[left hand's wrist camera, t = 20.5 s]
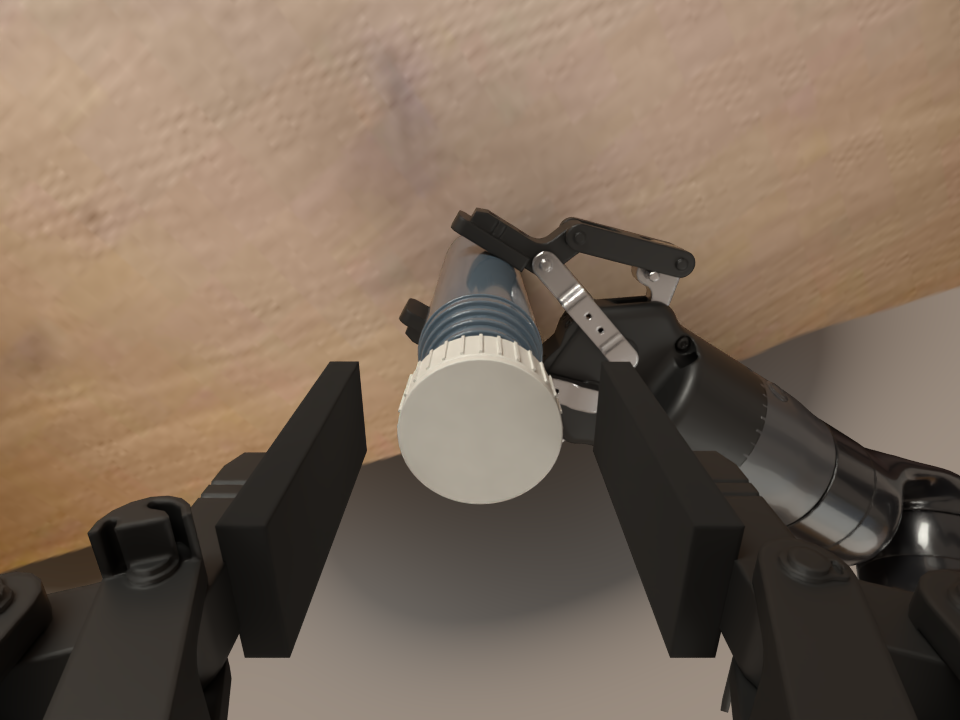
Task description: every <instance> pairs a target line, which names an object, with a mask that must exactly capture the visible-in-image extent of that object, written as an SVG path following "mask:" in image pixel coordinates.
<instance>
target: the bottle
mask: <svg viewBox="0 0 960 720" xmlns="http://www.w3.org/2000/svg"><path fill="white" fill-rule="evenodd" d="M479 334H483V336H492V337H497V336H500V337H501V338H502V339H505V340H508V341H511V342H513V343H514V341H515V342H517V344H518V345H519V346H521V347H522V348H524V349H526V350H527V351H529V350H530V351H532V355H533V356H534V357H535V358H536V359H537V360H538V361H539V362H542V361H543V358H542V357H543V346H542V341H541V337H540V333H539V330H538V327H537V324H536V321H535V318H534V315H533V311H532V308H531V305H530V302H529V299H528V296H527V293H526V289H525V286H524V283H523V280H522V277H521V274H520V271H519V270H517V269H515V268H514V267H512V266H510V265H509V264H508V263H506V262H505V261H503V260H501V259H499V258H497V257H496V256H494V255H493V254H491V253H489V252H488V251H486V250H484V249H483V248H481V247H479V246H478V245H476V244H475V243H473V242H471V241H470V240H468V239H466V238H465V237H463V236H462V235H461V236H460V237H458V238H457V239H456V240H455V241H454V242H453V243H452V244H451V246H450V247H449V249H448V251H447V254H446V257H445V260H444V263H443V266H442V269H441V272H440V276H439V279H438V282H437V285H436V288H435V291H434V294H433V298H432V301H431V304H430V307H429V310H428V313H427V316H426V319H425V323H424V326H423V329H422V332H421V335H420V339H419V344H418V362H419V361H421V362H422V360H423V359H424V358H425V357H426V356H427V355H429V353H430V350H432V349H433V350H435V349H436V348H438V347H440V346H441V345H443V344H444V343H445V341H448V342H449V341H452V340H455V339H458V338H461V336H463V335H465V337H468V336H479Z"/></svg>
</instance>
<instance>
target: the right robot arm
mask: <svg viewBox="0 0 960 720" xmlns="http://www.w3.org/2000/svg"><path fill="white" fill-rule="evenodd" d="M451 228H452V229H453V230H454V231H455V232H457V233H458V234H460V235H462V236H463V237H465V238H466V239H468V240H470V241H471V242H473V243H475V244H476V245H478V246H479V247H481V248H483V249H484V250H486V251H488V252H489V253H491V254H493V255H494V256H496V257H497V258H499V259H501V260H503V261H505V262H506V263H508V264H509V265H510V266H512V267H514V268H515V269H517V270H519V271H520V272H522V271H523V269H524V268H525V269H527V270H529V271H530V272H532V273H534V274H535V275H536V276H537V277H538V278H539V279H540V280H541V281H542V283H543V284H544V285H545V286H546V287H547V288H548V289H549V291H550V292H551V293H552V294H553V295H554V296H555V297H556V299H557V300H558V301H559V302H560V304H561V305H562V306H563V308H564V309H565V310H566V311H565V312H564V313H563V315H562V316H561V318H560V320H559V323H558V325H557V328H556V331H555V333H554V334H553V335H552V336H551V337H550V338H549V339H547V340H546V341H545V342H544V343H543V344H542V346H543V357H542V358H543V361H542V362H543V364H544V368H545V370H546V372H547V374H548V376H550V375H551V377H552V380H553V384H554V387H555V390H556V393H557V396H558V399H559V403H560V406H561V409H562V414H561V418H562V423H563V438H562V443H563V442H564V441H568V442H570V443H582V444H589V445H593V446H594V436H595V425H596V414H597V403H598V392H599V381H600V370H601V362H631V364H632V365H633V367H634V368H635V369H636V371H637V372H638V374H639V375H640V377H641V378H642V379H643V381H644V382H645V384H646V385H647V387H648V388H649V389H650V391H651V392H652V394H653V395H654V397H655V398H656V399H657V401H658V402H659V404H660V405H661V407H662V408H663V409H664V411H665V412H666V414H667V415H668V417H669V418H670V419H671V421H672V422H673V424H674V425H675V427H676V428H677V429H678V431H679V432H680V434H681V435H682V437H683V438H684V439H685V441H686V442H687V444H688V445H689V447H690V448H691V449H692V451H717V452H718V453H720V454H721V455H723V456H724V457H726V458H727V459H729V460H731V461H732V462H734V463H735V464H736V465H737V466H738V467H739V468H740V469H741V471H742V472H743V473H744V474H745V476H746V477H747V478H748V479H749V483H752V484H753V486H754V487H755V488H756V489H757V491H758V492H759V495H760V496H762V497H763V498H764V499H765V500H766V502H767V503H768V504H769V505H770V507H771V508H772V509H773V510H774V512H775V513H776V514H777V515H778V516H779V518H780V519H781V520H782V521H783V523H784V524H785V525H786V526H787V528H788V529H789V530H790V531H791V533H792V534H793V535H794V536H795V538H796V539H800V540H803V541H806V542H810V543H813V544H816V545H818V546H820V547H822V548H824V549H826V550H828V551H830V552H832V553H834V554H835V555H836V556H838V557H839V558H840V559H841V560H843V561H844V562H845V563H846V564H848V565H849V566H853V565H856V569H857V578H858V579H859V580H863V581H866V582H870V583H875V584H879V585H884V586H888V587H893V588H897V589H902V590H906V591H911V592H914V591H915V589H916V586H917V584H918V581H919V579H920V577H921V576H922V575H924V574H925V573H926V572H928V571H932V570H943V569H945V570H951V571H957V572H960V476H959V475H958V474H955V473H953V472H951V471H949V470H946V469H943V468H939V467H935V466H931V465H927V464H923V463H919V462H915V461H911V460H908V459H904V458H901V457H897V456H894V455H890V454H886V453H882V452H879V451H875V450H871V449H868V448H864V447H863V446H861V445H860V444H859V443H857V442H855V441H854V440H852V439H851V438H849V437H848V436H846V435H844V434H843V433H841V432H840V431H838V430H837V429H835V428H833V427H832V426H830V425H829V424H827V423H825V422H824V421H822V420H821V419H819V418H817V417H816V416H815V415H813V414H812V413H811V412H810V411H809V410H808V409H806V408H805V407H804V406H803V405H802V404H801V403H800V402H799V401H797V400H796V399H795V398H794V397H792V396H791V395H789V394H788V393H787V392H785V391H784V390H782V389H781V388H780V387H779V386H777V385H776V384H774V383H772V382H769V381H768V380H766V379H765V378H763V377H761V376H760V375H758V374H757V373H755V372H753V371H752V370H750V369H749V368H747V367H746V366H744V365H743V364H741V363H740V362H738V361H736V360H735V359H733V358H732V357H730V356H728V355H727V354H725V353H724V352H722V351H720V350H719V349H717V348H716V347H714V346H713V345H711V344H709V343H708V342H706V341H705V340H703V339H702V338H700V337H698V336H697V335H695V334H694V333H692V332H691V331H689V330H687V329H686V328H684V327H683V326H681V325H680V324H679V322H678V320H677V318H676V316H675V314H674V312H673V310H672V309H671V308H670V307H669V304H670V302H671V299H672V297H673V294H674V292H675V289H676V287H677V284H678V282H679V279H680V278H683V277H686V276H688V275H689V274H690V273H691V272H692V271H693V269H694V267H695V259H694V256H693V255H692V254H691V253H689V252H687V251H685V250H684V249H682V248H680V247H678V246H676V245H674V244H672V243H669V242H666V241H662V240H658V239H654V238H650V237H647V236H643V235H639V234H635V233H632V232H628V231H624V230H620V229H617V228H613V227H609V226H605V225H601V224H598V223H594V222H590V221H586V220H583V219H579V218H575V217H569V218H566V219H564V220H563V221H562V222H561V224H560V226H559V228H557V229H556V230H555V231H554V232H552V233H551V234H550V235H548V236H547V237H545V238H540V239H536V238H532V237H530V236H529V235H527V234H526V233H524V232H522V231H521V230H519V229H518V228H516V227H514V226H513V225H511V224H510V223H508V222H506V221H505V220H503V219H502V218H500V217H498V216H497V215H495V214H494V213H492V212H491V211H489V210H487V209H481V208H476V209H475V211H474V213H473V214H472V216H470V215H468V214H467V213H465V212H463V211H459V213H458V214H457V216H456V218H455V219H454V221H453V223H452V225H451ZM579 252H580V253H584V254H588V255H592V256H596V257H600V258H603V259H607V260H611V261H615V262H619V263H623V264H627V265H630V266H632V269H631V271H632V275H633V276H634V278H635V279H637V280H638V281H639V282H640V283H641V284H643V285H645V286H646V291H647V292H646V296H636V297H623V298H610V299H597V300H594V299H593V297H592V296H591V295H590V294H589V293H588V292H587V290H586V289H585V288H584V287H583V286H582V284H581V283H580V282H579V281H578V280H577V279H576V277H575V276H574V275H573V274H572V273H571V272H570V271H569V269H568V268H567V267H566V266H565V265H564V264H565V263H566V262H567V261H569V260H570V259H571V258H573V257H574V256H575V255H577V254H578V253H579ZM428 310H429V307H428V306H426V305H425V304H423V303H421V302H419V301H418V300H415V299H412V298H410V299H409V300H408V302H407V304H406V306H405V307H404V309H403V311H402V313H401V315H400V317H399V319H400V321H401V322H402V323H403V324H405V325H406V326H408V327H407V330H406V332H405V333H406V335H407V336H408V337H409V338H410V339H411V340H412V342H414V343H416V344H419V339H420V335H421V332H422V329H423V326H424V323H425V319H426V316H427V313H428Z"/></svg>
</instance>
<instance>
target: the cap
mask: <svg viewBox="0 0 960 720" xmlns="http://www.w3.org/2000/svg"><path fill="white" fill-rule="evenodd" d="M398 412H400V415H399V420H398V425H397V429H398V442H399V447H400V450H401V454H402V456H403V458H404V460H405V462H406V464H407V466H408V467H409V469H410V470H411V472H412V473H413V474H414V475H415V476H416V478H417V479H418V480H420V481H421V482H422V483H423V484H424V485H425V486H426V487H428V488H429V489H431V490H432V491H434V492H436V493H438V494H439V495H441V496H444V497H446V498H449V499H452V500H455V501H459V502H464V503H470V504H491V503H497V502H502V501H505V500H509V499H512V498H514V497H517V496H519V495H521V494H523V493H525V492H527V491H528V490H530V489H531V488H533V487H534V486H535V485H537V484H538V483H539V482H540V481H541V480H542V479H543V478H544V477H545V476H546V475H547V473H548V472H549V471H550V470H551V468H552V466H553V465H554V463H555V461H556V459H557V457H558V455H559V452H560V448H561V445H562V438H563V423H562V418H561V414H562V409H561V406H560V403H559V399H558V396H557V393H556V390H555V387H554V384H553V380H552V377H551V375H550V376H548V374H547V372H546V370H545V368H544V364H543V362H539V361H538V360H537V359H536V358H535V357H534V356H533V355H532V351H530V350H529V351H527V350H526V349H524V348H522V347H521V346H519V345H518V344H517V342H515V341H514V343H513V342H511V341H508V340H505V339H502V338H501V337H500V336H497V337H492V336H483V334H479V336H468V337H465V335H463V336H461V338H458V339H455V340H452V341H449V342H448V341H445V343H444V344H443V345H441V346H440V347H438V348H436V349H435V350H433V349H432V350H430V353H429V355H427V356H426V357H425V358H424V359H423V360H422V362H421V361H419V362H418V364H417V368H416V370H415V371H414V373H413V375H412V374H410V376H409V379H408V383H407V386H406V389H405V391H404V394H403V397H402V401H401V404H400V407H399V411H398Z"/></svg>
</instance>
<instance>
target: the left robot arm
mask: <svg viewBox="0 0 960 720" xmlns="http://www.w3.org/2000/svg"><path fill="white" fill-rule="evenodd" d="M366 452H367V447H366V436H365V425H364V414H363V403H362V392H361V381H360V370H359V362H329V364H328V365H327V367H326V368H325V369H324V371H323V372H322V374H321V375H320V377H319V378H318V379H317V381H316V382H315V384H314V385H313V387H312V388H311V389H310V391H309V392H308V394H307V395H306V397H305V398H304V399H303V401H302V402H301V404H300V405H299V407H298V408H297V409H296V411H295V412H294V414H293V415H292V417H291V418H290V419H289V421H288V422H287V424H286V425H285V427H284V428H283V429H282V431H281V432H280V434H279V435H278V437H277V438H276V439H275V441H274V442H273V444H272V445H271V447H270V448H269V449H268V451H267V452H266V453H243V454H242V455H240V456H239V457H237V458H235V459H234V460H232V461H231V462H229V463H228V464H226V465H225V466H224V467H223V468H222V469H221V470H220V472H219V473H218V474H217V475H216V477H215V478H214V479H213V480H212V483H211V485H208V487H207V488H206V489H205V490H204V492H203V493H202V494H201V498H198V499H197V500H196V502H195V503H194V504H193V505H192V507H190V504H188V503H187V502H186V501H185V500H183V499H182V498H177V497H172V496H158V497H149V498H145V499H141V500H138V501H134V502H131V503H128V504H126V505H124V506H122V507H120V508H117V509H115V510H113V511H111V512H110V513H108V514H107V515H106V516H104V517H103V518H101V519H100V520H98V521H97V522H96V523H95V525H94V526H93V527H92V528H91V529H90V531H89V532H88V536H89V539H90V542H91V545H92V548H93V551H94V554H95V557H96V560H97V563H98V566H99V569H100V572H101V575H102V577H103V579H102V582H99V583H95V584H91V585H87V586H82V587H78V588H73V589H69V590H64V591H60V592H56V593H51V594H46V591H45V589H44V586H43V584H42V581H41V579H40V578H38V577H37V576H35V575H34V574H33V573H26V572H12V573H6V574H0V720H227V717H228V707H229V697H230V688H231V672H230V666H229V662H228V658H227V657H228V655H229V653H230V651H231V649H232V647H233V645H234V643H235V641H236V639H237V637H238V635H239V634H240V639H241V643H242V647H243V652H244V656H245V658H290V656H291V653H292V650H293V648H294V645H295V642H296V640H297V637H298V634H299V632H300V629H301V626H302V623H303V621H304V618H305V616H306V613H307V610H308V607H309V605H310V602H311V599H312V597H313V594H314V591H315V589H316V586H317V583H318V581H319V578H320V575H321V573H322V570H323V567H324V565H325V562H326V559H327V557H328V554H329V551H330V548H331V546H332V543H333V540H334V538H335V535H336V532H337V530H338V527H339V524H340V522H341V519H342V516H343V514H344V511H345V508H346V506H347V503H348V500H349V497H350V495H351V492H352V489H353V487H354V484H355V481H356V479H357V476H358V473H359V471H360V468H361V465H362V463H363V460H364V457H365V455H366ZM593 452H594V455H595V457H596V460H597V463H598V465H599V468H600V471H601V473H602V476H603V479H604V481H605V484H606V487H607V489H608V492H609V495H610V498H611V500H612V503H613V506H614V508H615V511H616V514H617V516H618V519H619V521H620V524H621V527H622V530H623V532H624V535H625V538H626V540H627V543H628V546H629V549H630V551H631V554H632V557H633V559H634V562H635V565H636V567H637V570H638V573H639V575H640V578H641V581H642V583H643V586H644V589H645V591H646V594H647V597H648V599H649V602H650V605H651V607H652V610H653V613H654V615H655V618H656V621H657V624H658V626H659V629H660V632H661V634H662V637H663V640H664V642H665V645H666V648H667V650H668V653H669V656H670V658H715V656H716V652H717V647H718V643H719V638H720V634H721V632H722V634H723V636H724V638H725V640H726V642H727V644H728V646H729V648H730V650H731V652H732V654H733V658H732V662H731V666H730V670H729V674H728V678H727V682H726V686H725V690H724V694H723V699H722V705H721V711H724V712H728V710H729V707H730V703H731V706H732V715H733V720H960V572H957V571H951V570H945V569H943V570H932V571H928V572H926V573H925V574H924V575H922V576H921V577H920V579H919V581H918V584H917V586H916V589H915V591H914V592H911V591H906V590H902V589H897V588H893V587H888V586H884V585H879V584H875V583H870V582H866V581H863V580H859V579H858V578H857V577H856V575H855V574H854V572H853V571H852V570H851V568H850V567H849V565H848V564H846V563H845V562H844V561H843V560H841V559H840V558H839V557H838V556H836V555H835V554H834V553H832V552H830V551H828V550H826V549H824V548H822V547H820V546H818V545H816V544H813V543H810V542H806V541H803V540H800V539H796V538H795V536H794V535H793V534H792V533H791V531H790V530H789V529H788V528H787V526H786V525H785V524H784V523H783V521H782V520H781V519H780V518H779V516H778V515H777V514H776V513H775V512H774V510H773V509H772V508H771V507H770V505H769V504H768V503H767V502H766V500H765V499H764V498H763V497H762V496H760V495H759V492H758V491H757V489H756V488H755V487H754V486H753V484H752V483H749V479H748V478H747V477H746V476H745V474H744V473H743V472H742V471H741V469H740V468H739V467H738V466H737V465H736V464H735V463H734V462H732V461H731V460H729V459H727V458H726V457H724V456H723V455H721V454H720V453H718V452H717V451H692V449H691V448H690V447H689V445H688V444H687V442H686V441H685V439H684V438H683V437H682V435H681V434H680V432H679V431H678V429H677V428H676V427H675V425H674V424H673V422H672V421H671V419H670V418H669V417H668V415H667V414H666V412H665V411H664V409H663V408H662V407H661V405H660V404H659V402H658V401H657V399H656V398H655V397H654V395H653V394H652V392H651V391H650V389H649V388H648V387H647V385H646V384H645V382H644V381H643V379H642V378H641V377H640V375H639V374H638V372H637V371H636V369H635V368H634V367H633V365H632V364H631V362H601V370H600V381H599V392H598V403H597V414H596V425H595V436H594V447H593Z"/></svg>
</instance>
